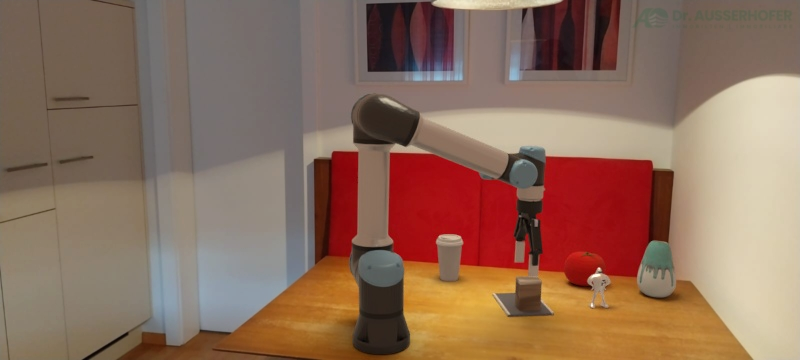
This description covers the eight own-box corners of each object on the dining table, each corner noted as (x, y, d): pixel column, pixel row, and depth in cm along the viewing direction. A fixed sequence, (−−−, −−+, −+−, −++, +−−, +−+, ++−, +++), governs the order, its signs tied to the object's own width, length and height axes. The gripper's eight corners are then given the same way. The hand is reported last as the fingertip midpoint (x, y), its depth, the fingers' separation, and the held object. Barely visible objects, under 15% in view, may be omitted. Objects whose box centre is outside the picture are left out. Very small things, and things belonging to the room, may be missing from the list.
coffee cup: (430, 276, 209) (430, 235, 207) (452, 272, 213) (453, 232, 211) (444, 284, 201) (445, 241, 198) (468, 280, 205) (468, 238, 203)
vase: (650, 286, 199) (654, 234, 196) (682, 296, 190) (686, 242, 187) (628, 292, 193) (632, 239, 190) (660, 303, 183) (664, 247, 181)
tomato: (560, 277, 208) (561, 246, 206) (600, 278, 207) (602, 247, 205) (566, 289, 196) (568, 256, 194) (609, 290, 195) (611, 257, 193)
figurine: (588, 308, 179) (590, 270, 177) (583, 303, 183) (585, 266, 181) (611, 308, 179) (613, 270, 178) (606, 303, 184) (608, 265, 182)
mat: (554, 314, 174) (554, 312, 174) (507, 316, 173) (507, 314, 172) (534, 293, 192) (534, 291, 191) (492, 295, 190) (492, 293, 190)
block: (540, 310, 176) (541, 281, 175) (519, 310, 176) (520, 281, 174) (535, 304, 181) (536, 276, 179) (514, 305, 180) (515, 276, 179)
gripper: (557, 207, 161) (552, 281, 164) (529, 191, 185) (525, 256, 189) (530, 207, 160) (526, 282, 163) (505, 191, 185) (502, 256, 188)
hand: (525, 268), depth 176 cm, fingers open, 13 cm apart
